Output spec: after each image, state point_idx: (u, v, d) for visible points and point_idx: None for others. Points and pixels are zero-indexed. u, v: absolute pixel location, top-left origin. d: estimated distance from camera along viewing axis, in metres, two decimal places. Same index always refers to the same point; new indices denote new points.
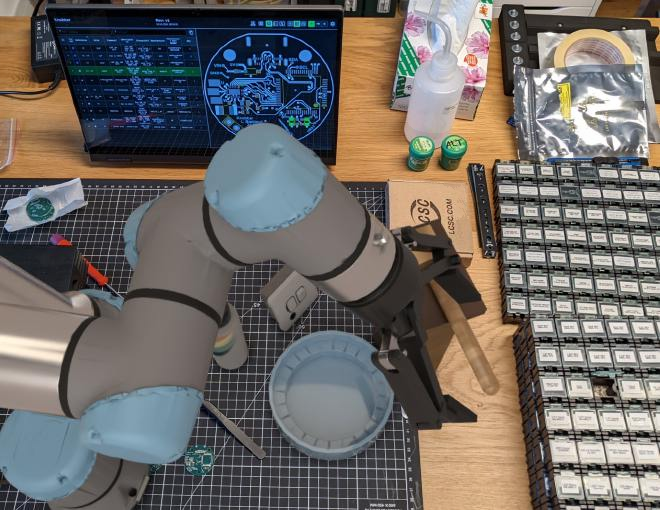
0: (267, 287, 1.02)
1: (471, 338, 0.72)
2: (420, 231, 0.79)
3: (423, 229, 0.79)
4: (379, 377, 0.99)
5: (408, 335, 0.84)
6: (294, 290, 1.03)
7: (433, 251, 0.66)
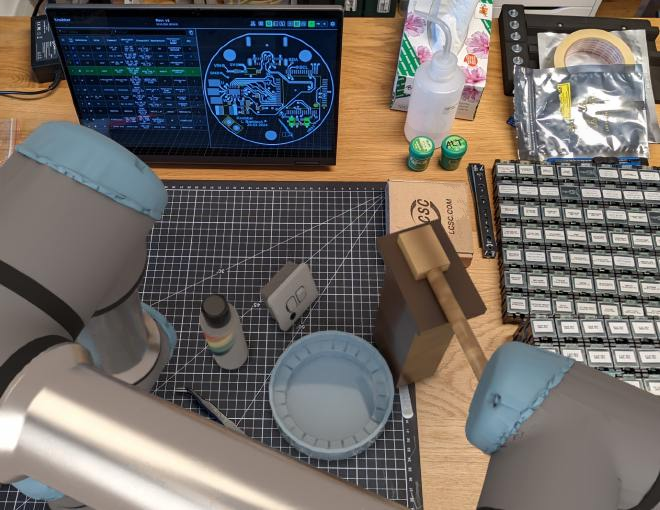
0: (267, 286, 1.02)
1: (471, 338, 0.72)
2: (420, 231, 0.79)
3: (423, 229, 0.79)
4: (379, 377, 0.99)
5: (408, 335, 0.84)
6: (294, 290, 1.03)
7: None
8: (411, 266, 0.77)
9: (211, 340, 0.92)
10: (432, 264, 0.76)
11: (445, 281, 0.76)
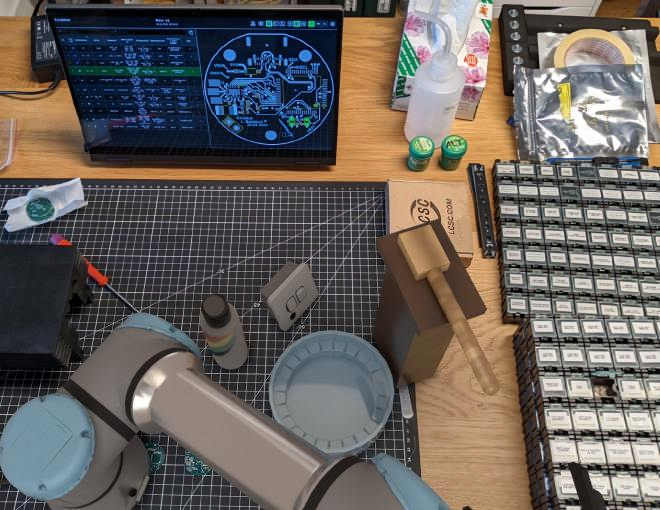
0: (267, 287, 1.02)
1: (471, 338, 0.72)
2: (420, 231, 0.79)
3: (423, 229, 0.79)
4: (379, 377, 0.99)
5: (408, 335, 0.84)
6: (294, 290, 1.03)
7: None
8: (411, 266, 0.77)
9: (211, 340, 0.92)
10: (432, 264, 0.76)
11: (445, 281, 0.76)
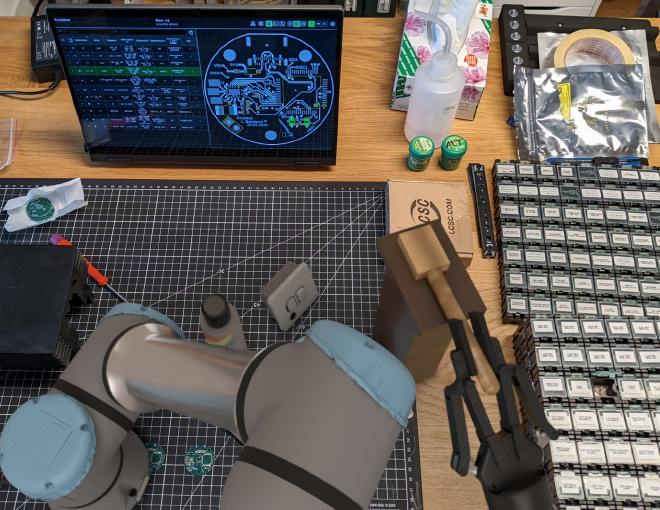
0: (267, 287, 1.02)
1: (471, 338, 0.72)
2: (420, 231, 0.79)
3: (423, 229, 0.79)
4: None
5: (408, 335, 0.84)
6: (294, 290, 1.03)
7: None
8: (411, 266, 0.77)
9: (211, 340, 0.92)
10: (432, 264, 0.76)
11: (445, 281, 0.76)
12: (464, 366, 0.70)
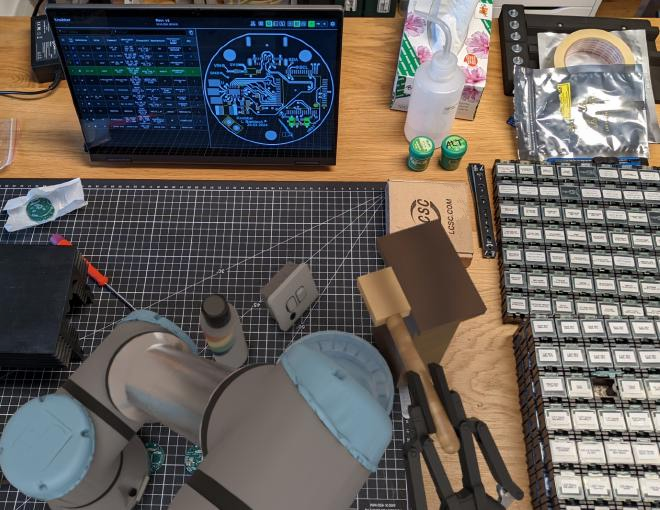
0: (267, 286, 1.02)
1: (430, 392, 0.67)
2: (380, 274, 0.74)
3: (383, 272, 0.75)
4: (379, 377, 0.99)
5: None
6: (294, 290, 1.03)
7: None
8: (370, 312, 0.73)
9: (211, 340, 0.92)
10: (392, 310, 0.72)
11: (405, 329, 0.71)
12: (422, 423, 0.66)
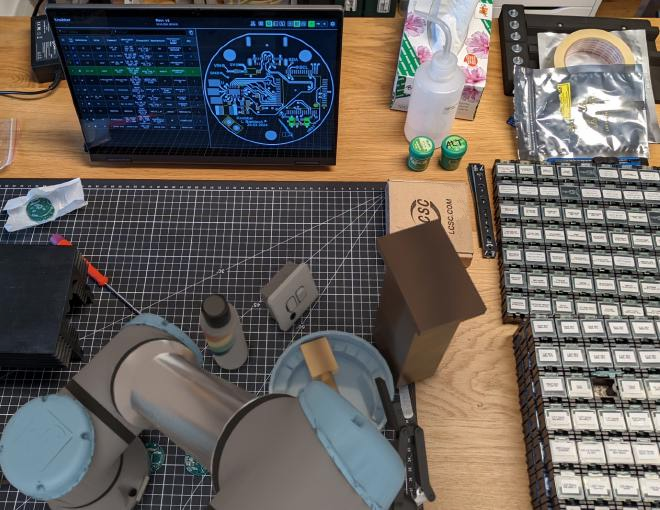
0: (267, 286, 1.02)
1: None
2: (317, 342, 1.00)
3: (319, 340, 1.00)
4: None
5: (408, 335, 0.84)
6: (294, 290, 1.03)
7: None
8: (309, 370, 0.98)
9: (211, 340, 0.92)
10: (324, 369, 0.97)
11: (333, 382, 0.95)
12: None
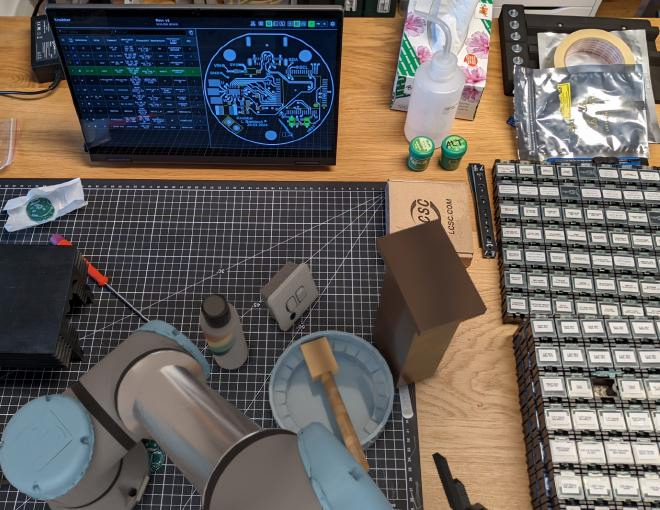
0: (267, 286, 1.02)
1: (348, 428, 0.91)
2: (317, 342, 1.00)
3: (319, 340, 1.00)
4: (379, 377, 0.99)
5: (408, 335, 0.84)
6: (294, 290, 1.03)
7: None
8: (309, 370, 0.98)
9: (211, 340, 0.92)
10: (324, 369, 0.97)
11: (333, 382, 0.95)
12: None
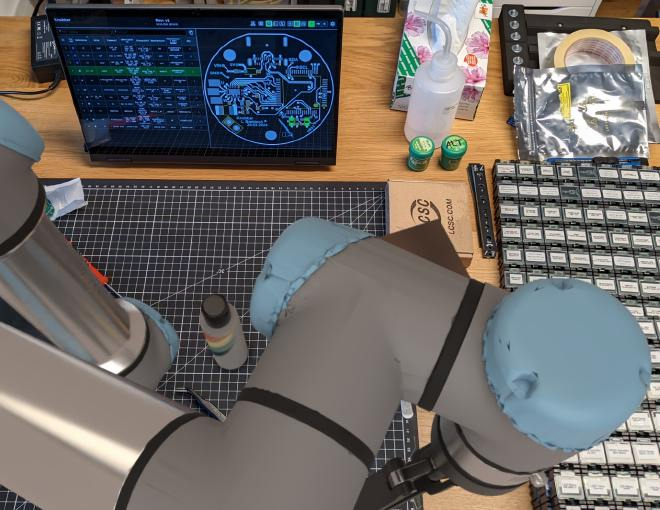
0: None
1: None
2: None
3: None
4: None
5: None
6: None
7: None
8: None
9: (211, 340, 0.92)
10: None
11: None
12: None
